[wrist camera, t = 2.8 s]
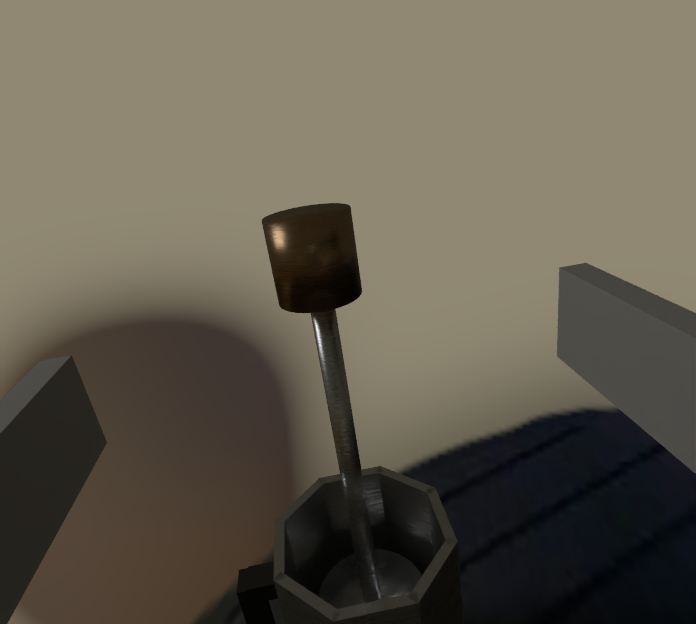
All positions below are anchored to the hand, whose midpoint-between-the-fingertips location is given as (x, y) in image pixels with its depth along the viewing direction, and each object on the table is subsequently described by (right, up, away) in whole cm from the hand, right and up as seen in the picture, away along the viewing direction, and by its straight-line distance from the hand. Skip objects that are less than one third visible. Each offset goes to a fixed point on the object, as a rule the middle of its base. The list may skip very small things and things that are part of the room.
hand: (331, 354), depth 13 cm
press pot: (+2, -28, +22) cm, 35 cm away
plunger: (+2, -18, +18) cm, 25 cm away
